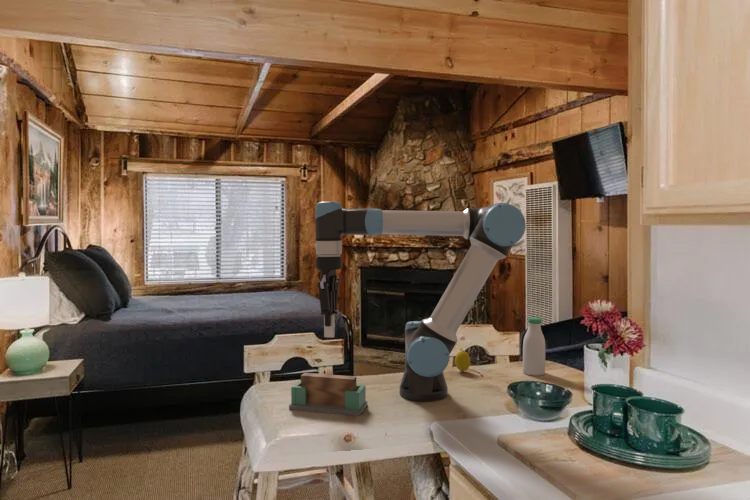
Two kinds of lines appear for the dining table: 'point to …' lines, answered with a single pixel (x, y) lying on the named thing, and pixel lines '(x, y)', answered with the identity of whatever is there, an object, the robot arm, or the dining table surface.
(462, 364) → the lemon
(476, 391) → the dining table surface
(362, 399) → the cradle
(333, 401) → the slat
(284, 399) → the dining table surface
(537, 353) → the milk bottle
